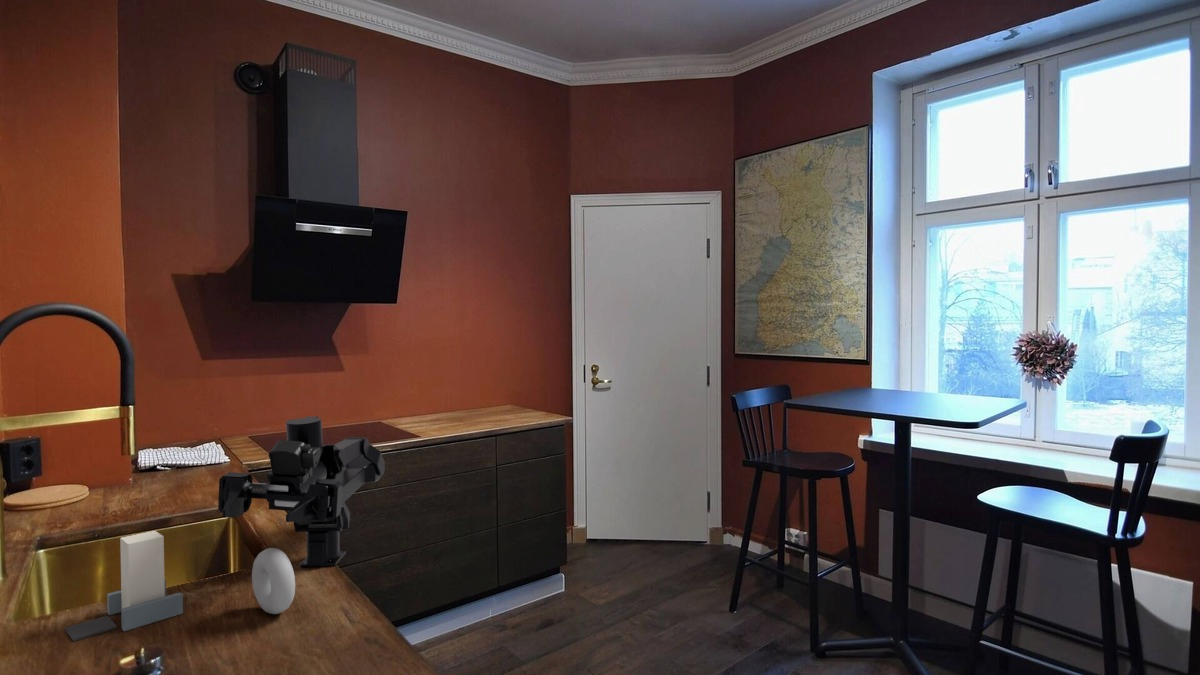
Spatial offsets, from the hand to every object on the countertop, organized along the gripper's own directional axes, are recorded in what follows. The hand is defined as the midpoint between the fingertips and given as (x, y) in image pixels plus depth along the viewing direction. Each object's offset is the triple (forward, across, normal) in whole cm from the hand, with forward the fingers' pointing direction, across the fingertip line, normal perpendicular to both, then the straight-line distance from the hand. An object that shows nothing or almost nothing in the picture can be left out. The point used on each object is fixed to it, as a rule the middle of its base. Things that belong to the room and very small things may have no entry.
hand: (255, 516), depth 94 cm
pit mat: (+2, -22, +18) cm, 29 cm away
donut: (-2, +2, +16) cm, 17 cm away
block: (-3, -18, +18) cm, 26 cm away
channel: (-3, -18, +18) cm, 25 cm away
